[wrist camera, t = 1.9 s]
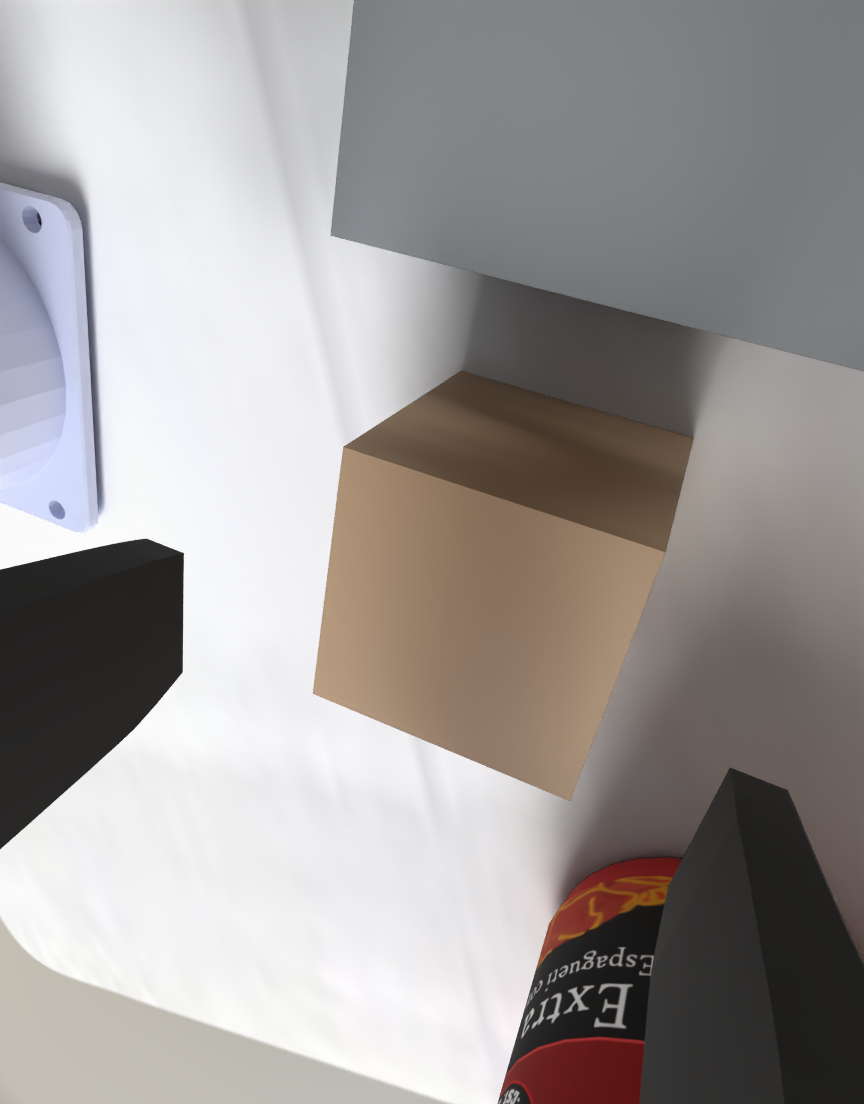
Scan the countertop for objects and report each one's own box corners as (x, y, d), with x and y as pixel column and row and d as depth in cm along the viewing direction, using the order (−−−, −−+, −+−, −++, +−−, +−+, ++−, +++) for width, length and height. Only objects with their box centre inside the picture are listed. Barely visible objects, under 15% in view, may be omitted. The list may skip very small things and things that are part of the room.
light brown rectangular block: (423, 565, 17) (312, 693, 13) (461, 370, 15) (343, 447, 10) (619, 636, 16) (569, 801, 12) (694, 436, 14) (665, 552, 9)
